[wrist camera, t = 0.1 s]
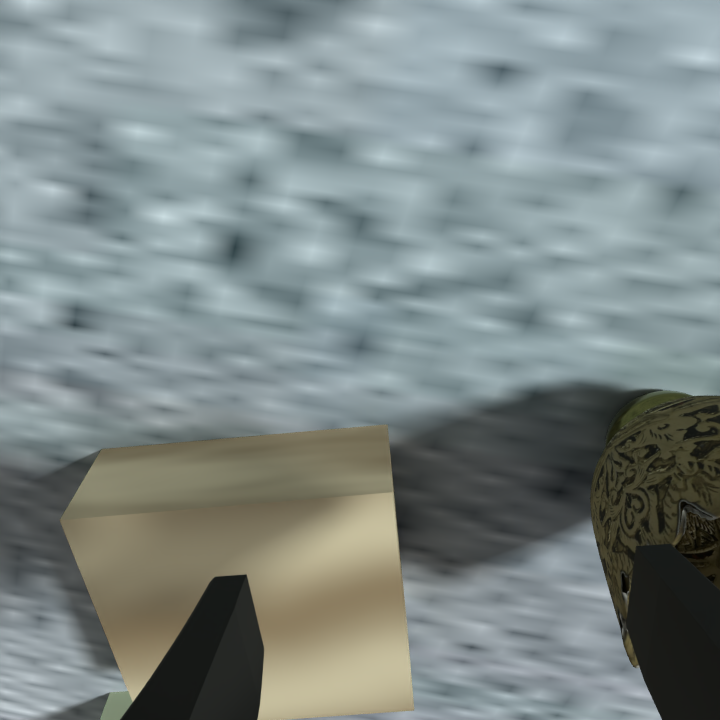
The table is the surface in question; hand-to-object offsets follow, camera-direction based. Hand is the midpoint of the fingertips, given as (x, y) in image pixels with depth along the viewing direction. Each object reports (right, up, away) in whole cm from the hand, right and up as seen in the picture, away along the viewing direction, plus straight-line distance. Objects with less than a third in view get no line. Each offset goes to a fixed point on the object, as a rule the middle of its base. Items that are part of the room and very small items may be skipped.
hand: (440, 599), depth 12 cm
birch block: (-5, -2, +13) cm, 14 cm away
